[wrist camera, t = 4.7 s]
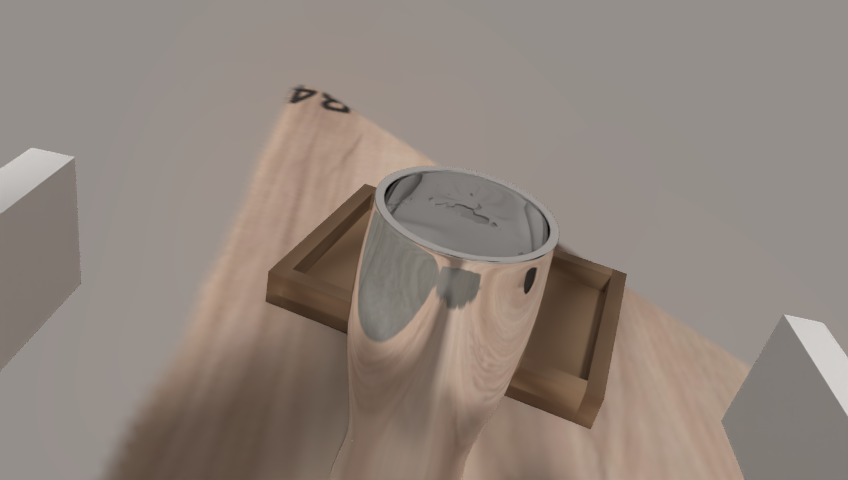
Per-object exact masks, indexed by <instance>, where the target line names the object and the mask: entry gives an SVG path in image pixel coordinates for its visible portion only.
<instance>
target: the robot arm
mask: <svg viewBox="0 0 848 480" xmlns="http://www.w3.org/2000/svg"><path fill="white" fill-rule="evenodd" d="M77 213H78V211H77V191H76V172H75V157H72V156H67V155H63V154H58V153H53V152H49V151H44V150H40V149H36V148H31V149H29V150H28V151H26V152H25V153H23V154H22V155H20V156H19V157H17V158H16V159H14V160H13V161H11V162H10V163H8V164H7V165H6V166H4V167H2V168H1V169H0V371H1V370H2V369H3V368H4V366H6V364H7V363H8V362H9V361H10V360H11V359H12V358H13V357H14V356H15V355H16V353H17V352H18V351H19V350H20V349H21V348H22V347H23V346H24V345H25V344H26V342H28V341H29V339H30V338H31V337H32V336H33V335H34V334H35V333H36V332H37V331H38V330H39V329H40V327H41V326H42V325H43V324H44V323H45V322H46V321H47V320H48V319H49V318H50V317H51V315H52V314H53V313H54V312H55V311H56V310H57V309H58V308H59V307H60V306H61V305H62V304H63V302H64V301H65V300H66V299H67V298H68V297H69V296H70V295H71V294H72V293H73V292H74V291H75V289H76V288H77V287H78V286H79V285H80V284H81V271H80V252H79V231H78V214H77ZM721 422H722V424H723V427H724V429H725V432H726V434H727V437H728V439H729V442H730V444H731V446H732V449H733V451H734V454H735V456H736V459H737V461H738V464H739V466H740V469H741V471H742V474H743V476H744V479H745V480H848V357H847V356H846V355H845V353H844V352H843V350H842V349H841V347H840V346H839V344H838V343H837V342H836V340H835V339H834V337H833V336H832V334H831V333H830V332H829V330H828V329H827V327H826V326H825V325H824V323H822V322H817V321H813V320H809V319H804V318H799V317H795V316H790V315H786V314H783V316H782V317H781V319H780V321H779V323H778V324H777V326H776V328H775V329H774V331H773V333H772V335H771V336H770V338H769V340H768V342H767V343H766V345H765V347H764V348H763V350H762V352H761V354H760V355H759V357H758V359H757V360H756V362H755V364H754V365H753V367H752V369H751V371H750V372H749V374H748V376H747V377H746V379H745V381H744V383H743V384H742V386H741V388H740V389H739V391H738V393H737V395H736V396H735V398H734V400H733V401H732V403H731V405H730V407H729V408H728V410H727V412H726V413H725V415H724V417H723V419H722V420H721Z"/></svg>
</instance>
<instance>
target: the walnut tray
mask: <svg viewBox="0 0 848 480" xmlns="http://www.w3.org/2000/svg"><path fill="white" fill-rule="evenodd" d="M376 189H377V188H376V187H373V186H370V185H367V184H364V185H363V186H362V187H361V188H360V189H359V190H358V191H357V192H356V193H355V194H353V195H352V196H351V197H350V198H349V199H348V200H347V201H346V202H345V203H343V204H342V205H341V206H340V207H339V208H338V209H337V210H336V211H335V212H334V213H332V214H331V215H330V216H329V217H328V218H327V219H326V220H325V221H324V222H323V223H321V224H320V225H319V226H318V227H317V228H316V229H315V230H314V231H313V232H311V233H310V234H309V235H308V236H307V237H306V238H305V239H304V240H303V241H302V242H300V243H299V244H298V245H297V246H296V247H295V248H294V249H293V250H292V251H290V252H289V253H288V254H287V255H286V256H285V257H284V258H283V259H282V260H281V261H279V262H278V263H277V264H276V265H275V266H274V267H273V268H272V269H271V270H269V273H268V283H267V293H266V302H269V303H271V304H274V305H276V306H279V307H281V308H284V309H286V310H289V311H291V312H294V313H297V314H299V315H302V316H304V317H307V318H309V319H312V320H314V321H317V322H320V323H322V324H325V325H327V326H330V327H332V328H335V329H337V330H340V331H342V332H345V333H348V315H349V308H350V300H351V293H352V286H353V282H354V277H355V272H356V267H357V263H358V258H359V254H360V251H361V247H362V243H363V239H364V235H365V232H366V228H367V225H368V222H369V218H370V215H371V211H372V207H373V203H374V199H375V191H376ZM625 280H626V274H625V273H622V272H619V271H617V270H614V269H611V268H608V267H605V266H602V265H599V264H596V263H593V262H591V261H588V260H585V259H582V258H579V257H576V256H573V255H570V254H567V253H564V252H562V251H559V250H556V249H555V251H554V255H553V259H552V263H551V267H550V271H549V276H548V280H547V284H546V288H545V292H544V296H543V300H542V304H541V308H540V311H539V314H538V317H537V320H536V324H535V327H534V330H533V333H532V336H531V339H530V341H529V344H528V346H527V349H526V352H525V354H524V357H523V359H522V362H521V364H520V366H519V368H518V370H517V372H516V374H515V376H514V378H513V379H512V381H511V383H510V385H509V387H508V389H507V391H506V393H505V394H504V395H505V396H508V397H511V398H513V399H516V400H518V401H521V402H523V403H526V404H528V405H531V406H534V407H536V408H539V409H541V410H544V411H546V412H549V413H551V414H554V415H556V416H559V417H562V418H564V419H567V420H569V421H572V422H574V423H577V424H579V425H582V426H584V427H587V428H590V429H591V427H592V425H593V422H594V420H595V418H596V416H597V413H598V411H599V409H600V407H601V404H602V402H603V400H604V395H605V390H606V384H607V379H608V373H609V368H610V362H611V357H612V351H613V346H614V340H615V335H616V330H617V324H618V319H619V313H620V308H621V302H622V297H623V291H624V286H625Z"/></svg>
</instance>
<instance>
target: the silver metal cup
mask: <svg viewBox="0 0 848 480" xmlns="http://www.w3.org/2000/svg"><path fill="white" fill-rule="evenodd" d="M558 240H559V226H558V224H557V221H556V219H555V217H554V216H553V214H552V213H551V212H550V210H549V209H548V208H547V207H546V206H545V205H543V203H542V202H540V201H539V200H538V199H537V198H535V197H534V196H532V195H531V194H529V193H528V192H526V191H524V190H523V189H521V188H519V187H517V186H515V185H513V184H511V183H509V182H507V181H504V180H502V179H499V178H496V177H494V176H490V175H487V174H484V173H480V172H477V171H472V170H467V169H462V168H455V167H447V166H420V167H412V168H407V169H403V170H400V171H397V172H394V173H392V174H390V175H389V176H387V177H386V178H384V179H383V180H382V181H381V182H380V183H379V185H378V186H377V189H376V191H375V199H374V203H373V207H372V211H371V215H370V218H369V222H368V225H367V228H366V232H365V235H364V239H363V243H362V247H361V251H360V254H359V258H358V263H357V267H356V272H355V277H354V282H353V286H352V293H351V300H350V308H349V315H348V341H347V355H348V381H349V402H350V418H349V427H348V431H347V435H346V438H345V440H344V443H343V445H342V447H341V449H340V451H339V453H338V455H337V457H336V459H335V462H334V464H333V467H332V469H331V473H330V477H329V480H463V473H464V467H465V464H466V460H467V458H468V455H469V453H470V450H471V448H472V447H473V445H474V443H475V441H476V440H477V438H478V436H479V434H480V433H481V431H482V430H483V428H484V427H485V425H486V423H487V422H488V420H489V419H490V417H491V415H492V414H493V412H494V411H495V409H496V407H497V406H498V404H499V402H500V401H501V399H502V397H503V396H504V394H505V393H506V391H507V389H508V387H509V385H510V383H511V381H512V379H513V378H514V376H515V374H516V372H517V370H518V368H519V366H520V364H521V362H522V359H523V357H524V354H525V352H526V349H527V346H528V344H529V341H530V339H531V336H532V333H533V330H534V327H535V324H536V320H537V317H538V314H539V311H540V308H541V304H542V300H543V296H544V292H545V288H546V284H547V280H548V276H549V271H550V267H551V263H552V259H553V255H554V251H555V247H556V245H557V243H558Z"/></svg>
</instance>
